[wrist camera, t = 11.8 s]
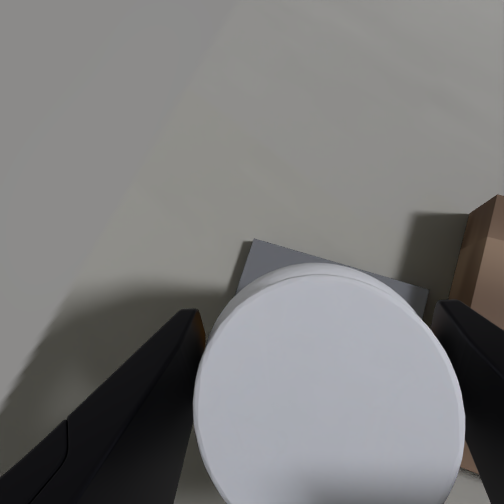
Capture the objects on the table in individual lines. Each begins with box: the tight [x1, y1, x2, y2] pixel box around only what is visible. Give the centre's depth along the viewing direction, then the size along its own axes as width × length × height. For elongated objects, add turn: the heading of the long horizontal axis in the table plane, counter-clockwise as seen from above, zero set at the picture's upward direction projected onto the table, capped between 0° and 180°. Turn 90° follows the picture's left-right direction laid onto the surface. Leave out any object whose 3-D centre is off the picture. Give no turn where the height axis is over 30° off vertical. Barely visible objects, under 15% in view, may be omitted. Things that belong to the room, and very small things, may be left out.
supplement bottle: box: [193, 263, 465, 504], centre depth 10 cm, size 5×5×10 cm
